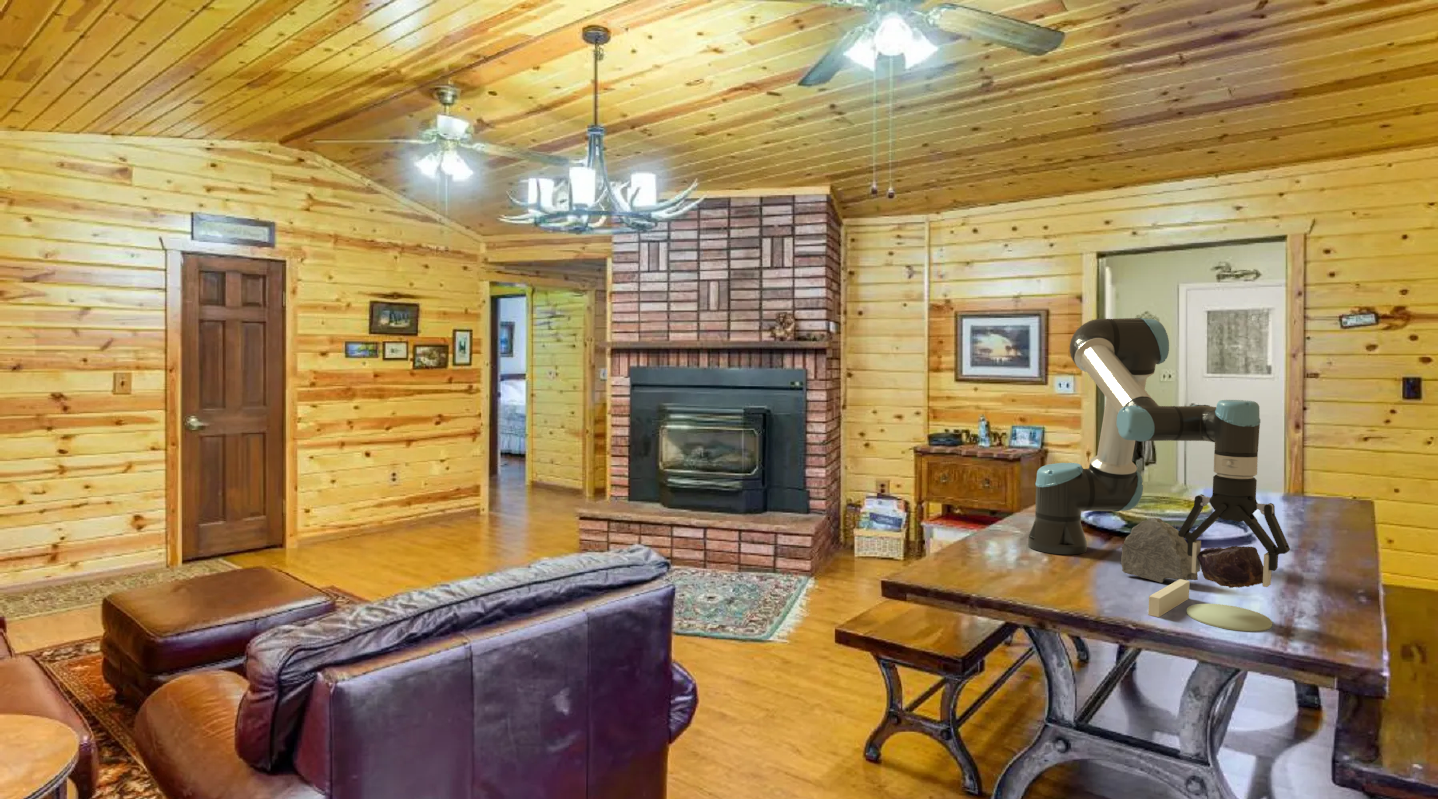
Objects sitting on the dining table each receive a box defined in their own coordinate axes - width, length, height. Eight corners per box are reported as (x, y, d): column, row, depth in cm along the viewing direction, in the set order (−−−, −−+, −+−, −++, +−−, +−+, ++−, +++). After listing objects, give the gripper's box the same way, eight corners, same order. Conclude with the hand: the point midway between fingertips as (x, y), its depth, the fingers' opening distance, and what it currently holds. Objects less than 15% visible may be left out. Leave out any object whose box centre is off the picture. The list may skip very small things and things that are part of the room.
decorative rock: (1117, 575, 197) (1119, 515, 196) (1127, 570, 202) (1129, 511, 201) (1190, 590, 185) (1193, 526, 184) (1200, 584, 190) (1202, 521, 189)
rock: (1211, 581, 174) (1193, 589, 167) (1206, 541, 174) (1188, 547, 168) (1274, 585, 165) (1258, 593, 158) (1269, 543, 165) (1252, 550, 159)
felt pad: (1175, 617, 167) (1176, 614, 167) (1200, 601, 177) (1200, 599, 177) (1260, 637, 156) (1260, 634, 156) (1281, 619, 166) (1281, 616, 166)
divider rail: (1148, 614, 169) (1149, 596, 169) (1179, 596, 181) (1179, 579, 181) (1158, 617, 168) (1159, 598, 167) (1188, 598, 180) (1189, 581, 179)
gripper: (1163, 470, 171) (1159, 569, 173) (1301, 485, 153) (1296, 596, 155) (1176, 466, 176) (1172, 562, 178) (1311, 481, 158) (1306, 588, 160)
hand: (1230, 578), depth 166 cm, fingers closed on rock, 12 cm apart
